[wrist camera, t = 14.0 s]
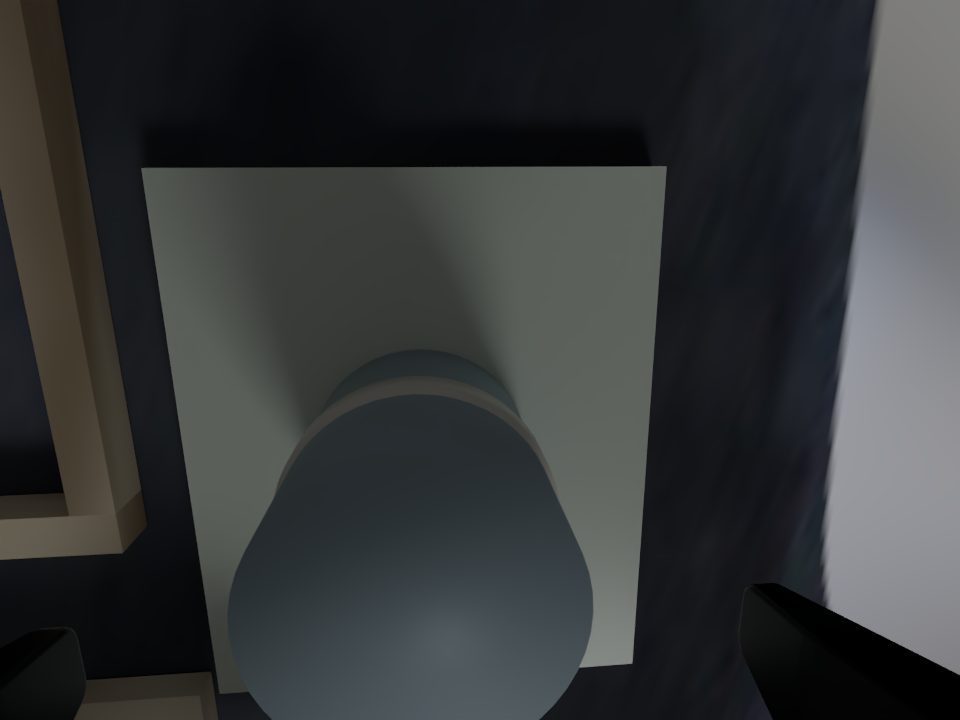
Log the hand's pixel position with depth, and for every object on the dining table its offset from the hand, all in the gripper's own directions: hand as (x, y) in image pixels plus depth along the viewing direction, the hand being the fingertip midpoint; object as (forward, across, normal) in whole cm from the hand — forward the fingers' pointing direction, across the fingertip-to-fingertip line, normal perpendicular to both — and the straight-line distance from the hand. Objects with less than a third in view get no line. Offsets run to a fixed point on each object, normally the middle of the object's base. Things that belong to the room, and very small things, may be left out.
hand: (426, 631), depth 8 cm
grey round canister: (+6, 0, 0) cm, 6 cm away
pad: (+7, 0, 0) cm, 7 cm away
